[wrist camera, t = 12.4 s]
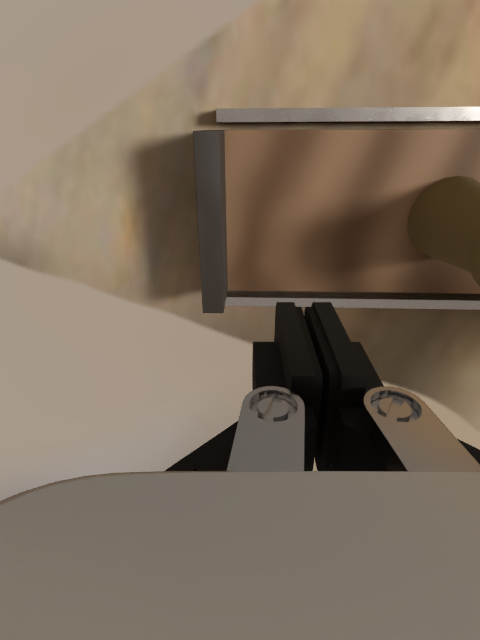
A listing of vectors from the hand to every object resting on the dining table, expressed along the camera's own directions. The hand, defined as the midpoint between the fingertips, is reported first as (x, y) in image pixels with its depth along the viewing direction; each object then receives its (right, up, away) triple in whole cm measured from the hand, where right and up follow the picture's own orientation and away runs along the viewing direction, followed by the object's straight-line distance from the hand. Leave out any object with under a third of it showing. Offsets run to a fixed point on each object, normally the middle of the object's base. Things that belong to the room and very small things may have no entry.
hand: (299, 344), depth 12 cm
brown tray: (+8, +9, +18) cm, 21 cm away
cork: (+14, +8, +17) cm, 23 cm away
